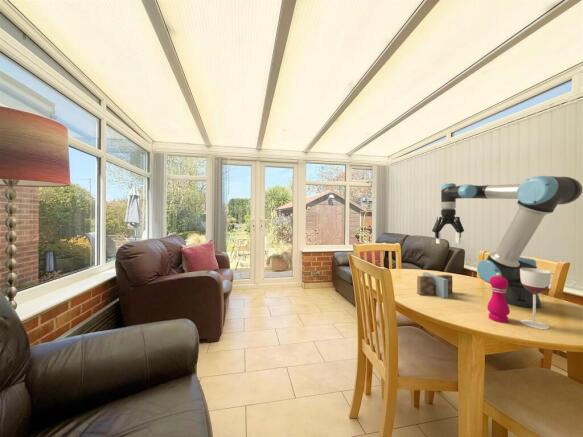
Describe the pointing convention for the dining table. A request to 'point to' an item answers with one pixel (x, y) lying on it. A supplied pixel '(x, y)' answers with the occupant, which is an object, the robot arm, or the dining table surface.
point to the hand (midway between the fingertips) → (448, 243)
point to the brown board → (431, 284)
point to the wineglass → (535, 289)
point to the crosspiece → (439, 285)
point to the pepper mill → (498, 299)
